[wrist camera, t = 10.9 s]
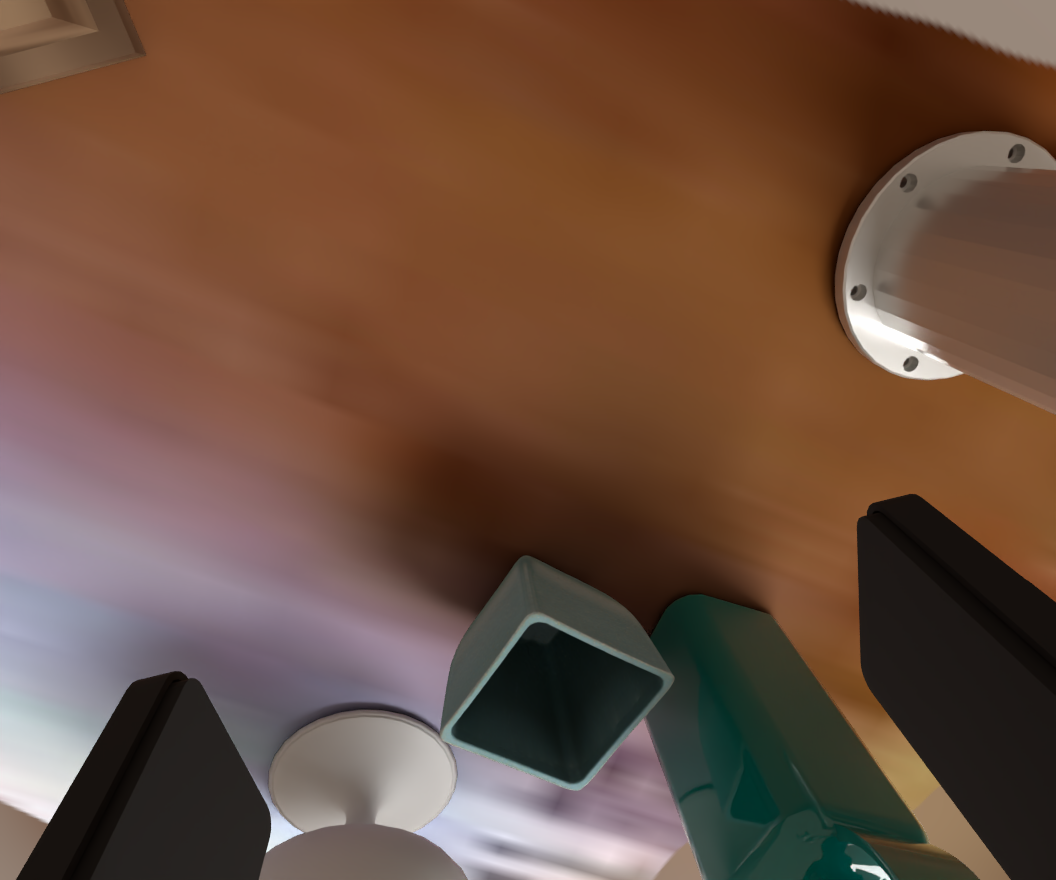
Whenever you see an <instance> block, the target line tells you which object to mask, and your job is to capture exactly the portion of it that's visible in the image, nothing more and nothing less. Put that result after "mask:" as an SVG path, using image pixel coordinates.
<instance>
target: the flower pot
mask: <svg viewBox="0 0 1056 880" xmlns="http://www.w3.org/2000/svg"><path fill="white" fill-rule="evenodd" d="M674 680H675V677H674V675H673V674H672V673H671V671H670V669H669V668H668V666H667V665H666V663H665V661H664V660H663V658H662V657H661V655H660V653H659V652H658V650H657V649H656V647H655V646H654V644H653V642H652V641H651V639H650V638H649V636H648V635H647V633H646V632H645V630H644V629H643V627H642V626H641V624H640V623H639V622H638V620H637V619H636V618H635V617H634V616H633V615H632V614H631V613H630V612H629V611H628V610H627V609H626V608H625V607H624V606H622V605H621V604H620V603H619V602H617V601H616V600H614V599H613V598H611V597H610V596H608V595H606V594H605V593H603V592H601V591H599V590H597V589H596V588H594V587H592V586H590V585H588V584H586V583H584V582H582V581H580V580H578V579H576V578H574V577H572V576H570V575H567V574H565V573H563V572H561V571H559V570H557V569H555V568H553V567H551V566H549V565H547V564H545V563H544V562H542V561H540V560H538V559H536V558H533V557H531V556H527V555H526V556H522V557H520V558H519V559H518V561H517V562H516V563H515V564H514V566H513V567H512V569H511V570H510V571H509V573H508V574H507V576H506V577H505V579H504V580H503V581H502V583H501V584H500V586H499V587H498V588H497V590H496V591H495V593H494V594H493V595H492V597H491V598H490V599H489V601H488V602H487V604H486V605H485V606H484V608H483V609H482V610H481V612H480V613H479V614H478V616H477V617H476V618H475V620H474V621H473V623H472V624H471V625H470V627H469V628H468V630H467V632H466V633H465V635H464V637H463V638H462V640H461V642H460V644H459V646H458V648H457V650H456V652H455V655H454V657H453V660H452V663H451V667H450V671H449V676H448V682H447V688H446V694H445V701H444V707H443V714H442V721H441V728H440V735H439V736H440V738H441V740H442V741H444V742H446V743H448V744H451V745H452V746H456V747H458V748H461V749H463V750H466V751H469V752H472V753H474V754H478V755H480V756H483V757H485V758H488V759H491V760H492V761H495V762H498V763H501V764H504V765H506V766H509V767H511V768H514V769H516V770H519V771H522V772H525V773H528V774H530V775H532V776H534V777H537V778H540V779H543V780H546V781H548V782H551V783H553V784H555V785H558V786H561V787H563V788H566V789H570V790H576V791H577V790H580V789H582V788H583V787H584V786H586V785H587V784H588V783H589V782H590V781H591V780H592V778H593V777H594V776H595V775H596V774H597V772H598V771H599V770H600V769H601V768H602V766H603V765H604V764H605V763H606V761H607V760H608V759H609V758H610V756H611V755H613V753H614V752H615V751H616V749H617V748H618V747H619V746H620V745H621V744H622V742H623V741H624V740H625V739H626V738H627V736H628V735H629V734H630V733H631V732H632V730H634V728H635V727H636V726H637V725H638V724H639V722H641V721H642V719H643V718H644V717H645V716H646V715H647V714H648V713H649V711H650V710H651V709H652V708H653V707H654V706H655V705H656V704H657V702H658V701H659V700H660V699H661V698H662V697H663V696H664V694H665V693H666V692H667V691H668V690H669V689H670V687H671V685H672V684H673V682H674Z"/></svg>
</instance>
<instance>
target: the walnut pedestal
mask: <svg viewBox="0 0 1056 880" xmlns="http://www.w3.org/2000/svg"><path fill="white" fill-rule="evenodd" d="M142 56H146V53H145V51H144V49H143V46H142V44H141V41H140V39H139V37H138V34H137V32H136V29H135V27H134V25H133V22H132V20H131V17H130V15H129V13H128V10H127V8H126V5H125V3H124V1H123V0H0V94H3V93H6V92H10V91H14V90H18V89H21V88H25V87H29V86H33V85H37V84H40V83H44V82H48V81H52V80H55V79H59V78H63V77H67V76H71V75H74V74H78V73H82V72H86V71H89V70H93V69H97V68H101V67H105V66H108V65H112V64H116V63H120V62H123V61H127V60H131V59H135V58H139V57H142Z"/></svg>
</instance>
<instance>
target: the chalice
mask: <svg viewBox="0 0 1056 880" xmlns="http://www.w3.org/2000/svg"><path fill="white" fill-rule="evenodd" d="M457 776H458V774H457V766H456V760H455V757H454V755H453V753H452V751H451V749H450V747H449V745H448V744H447V743H446V742H444V741H442V740H441V738H440V736H439V734H438V733H437V732H436V731H434V730H433V729H431V728H430V727H429V726H427V725H426V724H424V723H423V722H420V721H418V720H416V719H413V718H411V717H408V716H406V715H403V714H398V713H393V712H389V711H384V710H355V711H347V712H340V713H336V714H333V715H330V716H327V717H324V718H320V719H318V720H316V721H314V722H312V723H310V724H308V725H306V726H305V727H303V728H301V729H299V730H298V731H297V732H296V733H294V734H293V735H292V736H291V737H290V738H288V739H287V740H286V741H285V742H284V743H283V745H282V746H281V748H280V749H279V750H278V752H277V753H276V754H275V756H274V758H273V761H272V764H271V767H270V769H269V779H268V788H269V791H270V795H271V798H272V802H273V803H274V805H275V806H276V808H277V809H278V811H279V813H280V814H281V815H282V816H283V817H284V818H285V819H286V820H287V821H288V822H289V823H290V824H291V825H293V826H294V827H295V828H297V829H299V830H301V831H302V832H304V833H303V834H300V835H297V836H295V837H293V838H291V839H289V840H287V841H285V842H283V843H281V844H279V845H277V846H275V847H274V848H272V849H271V850H270V851H268V852H267V853H266V854H265V857H264V861H263V865H262V869H261V873H260V877H259V880H468V879H467V878H466V876H465V874H464V872H463V870H462V868H460V867H459V866H458V865H457V864H456V863H455V862H454V861H453V860H452V859H451V858H450V857H449V856H448V855H447V854H446V853H445V852H444V851H443V850H442V849H441V848H440V847H438V846H437V845H435V844H434V843H432V842H430V841H429V840H427V839H426V838H424V837H422V836H419V835H417V834H414V833H413V832H415V831H417V830H419V829H421V828H423V827H424V826H425V825H427V824H428V823H429V822H431V821H432V820H433V819H435V818H436V817H437V816H438V815H439V814H440V813H441V811H442V810H443V809H444V808H445V807H446V806H447V804H448V803H449V801H450V799H451V797H452V795H453V793H454V791H455V787H456V781H457Z"/></svg>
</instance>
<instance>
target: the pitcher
mask: <svg viewBox="0 0 1056 880" xmlns="http://www.w3.org/2000/svg"><path fill="white" fill-rule="evenodd" d="M650 639H651V641H652V642H653V644H654V646H655V647H656V649H657V650H658V652H659V653H660V655H661V657H662V658H663V660H664V661H665V663H666V665H667V666H668V668H669V669H670V671H671V673H672V674H673V675H674V677H675V680H674V682H673V684H672V685H671V687H670V689H669V690H668V691H667V692H666V693H665V694H664V696H663V697H662V698H661V699H660V700H659V701H658V702H657V704H656V705H655V706H654V707H653V708H652V709H651V710H650V711H649V713H648V714H647V715H646V716H645V717H644V720H645V723H646V726H647V729H648V731H649V734H650V737H651V740H652V742H653V745H654V748H655V751H656V753H657V756H658V759H659V762H660V765H661V767H662V770H663V773H664V776H665V778H666V781H667V784H668V787H669V789H670V792H671V795H672V798H673V800H674V803H675V806H676V809H677V811H678V814H679V817H680V820H681V822H682V825H683V828H684V831H685V833H686V836H687V839H688V842H689V844H690V847H691V850H692V853H693V855H694V858H695V861H696V864H697V866H698V869H699V872H700V875H701V877H702V880H980V879H978V877H977V876H976V875H975V874H974V873H973V872H972V871H971V870H970V869H969V868H968V867H966V865H965V864H963V863H962V862H961V861H959V860H958V859H957V858H955V857H954V856H952V855H951V854H949V853H947V852H946V851H943V850H941V849H940V848H938V847H936V846H933V845H931V844H930V843H929V840H928V837H927V834H926V832H925V830H924V828H923V826H922V825H921V823H920V822H919V820H918V819H917V817H916V816H915V815H914V813H913V812H912V810H911V809H910V808H909V806H908V805H907V803H906V802H905V800H904V799H903V798H902V796H901V795H900V793H899V792H898V791H897V789H896V788H895V786H894V785H893V784H892V782H891V781H890V779H889V778H888V776H887V775H886V774H885V772H884V771H883V769H882V768H881V767H880V765H879V764H878V762H877V761H876V760H875V758H874V757H873V755H872V754H871V752H870V751H869V750H868V748H867V747H866V745H865V744H864V743H863V741H862V740H861V738H860V737H859V736H858V734H857V733H856V731H855V730H854V729H853V727H852V726H851V724H850V723H849V721H848V720H847V719H846V717H845V716H844V714H843V713H842V712H841V710H840V709H839V707H838V706H837V705H836V703H835V702H834V700H833V699H832V697H831V696H830V695H829V693H828V692H827V690H826V689H825V688H824V686H823V685H822V683H821V682H820V681H819V679H818V678H817V676H816V675H815V673H814V672H813V671H812V669H811V668H810V666H809V665H808V664H807V662H806V661H805V659H804V658H803V657H802V655H801V654H800V652H799V651H798V649H797V648H796V647H795V645H794V644H793V642H792V641H791V640H790V638H789V637H788V635H787V634H786V633H785V631H784V630H783V628H782V627H781V625H780V624H779V623H778V621H777V620H776V619H775V618H773V617H772V616H771V615H770V614H768V613H765V612H761V611H758V610H755V609H751V608H748V607H744V606H741V605H738V604H734V603H731V602H727V601H724V600H720V599H717V598H714V597H710V596H707V595H703V594H690V595H686V596H684V597H682V598H679V599H677V600H675V601H674V602H673V603H672V604H670V605H669V606H668V607H667V608H666V609H665V611H664V613H663V615H662V616H661V618H660V620H659V622H658V623H657V625H656V627H655V629H654V630H653V632H652V634H651V636H650Z"/></svg>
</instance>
